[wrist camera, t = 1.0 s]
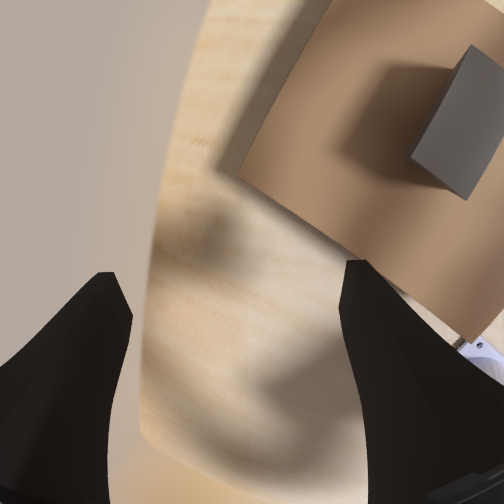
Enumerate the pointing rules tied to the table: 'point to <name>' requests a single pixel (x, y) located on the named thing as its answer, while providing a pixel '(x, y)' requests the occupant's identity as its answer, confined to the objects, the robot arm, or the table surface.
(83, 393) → the robot arm
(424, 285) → the lid
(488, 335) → the table surface
